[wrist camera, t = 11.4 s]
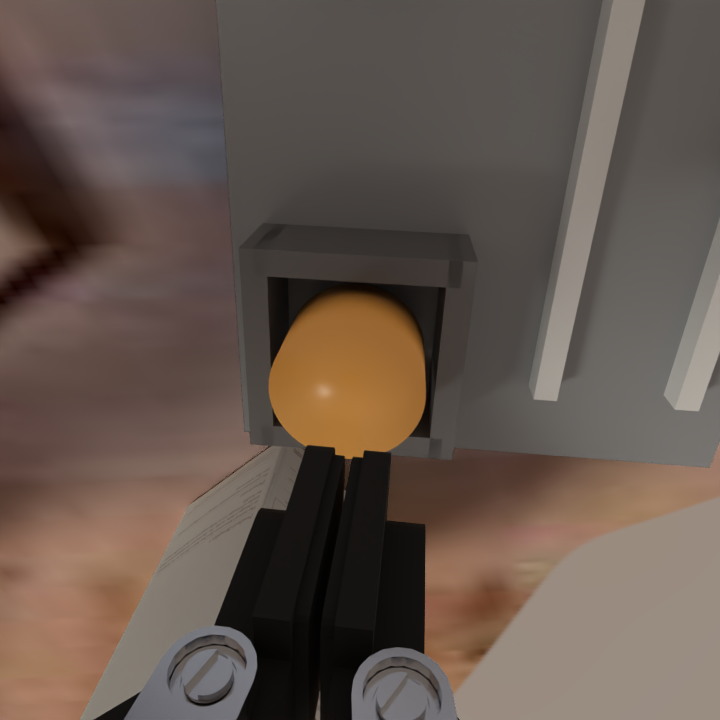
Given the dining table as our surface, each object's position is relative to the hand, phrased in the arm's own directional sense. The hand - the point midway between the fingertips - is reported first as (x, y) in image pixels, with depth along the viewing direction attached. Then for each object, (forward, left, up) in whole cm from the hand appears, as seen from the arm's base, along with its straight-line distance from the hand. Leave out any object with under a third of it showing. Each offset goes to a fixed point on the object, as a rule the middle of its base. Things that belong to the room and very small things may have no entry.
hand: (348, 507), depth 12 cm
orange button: (0, +1, -8) cm, 8 cm away
